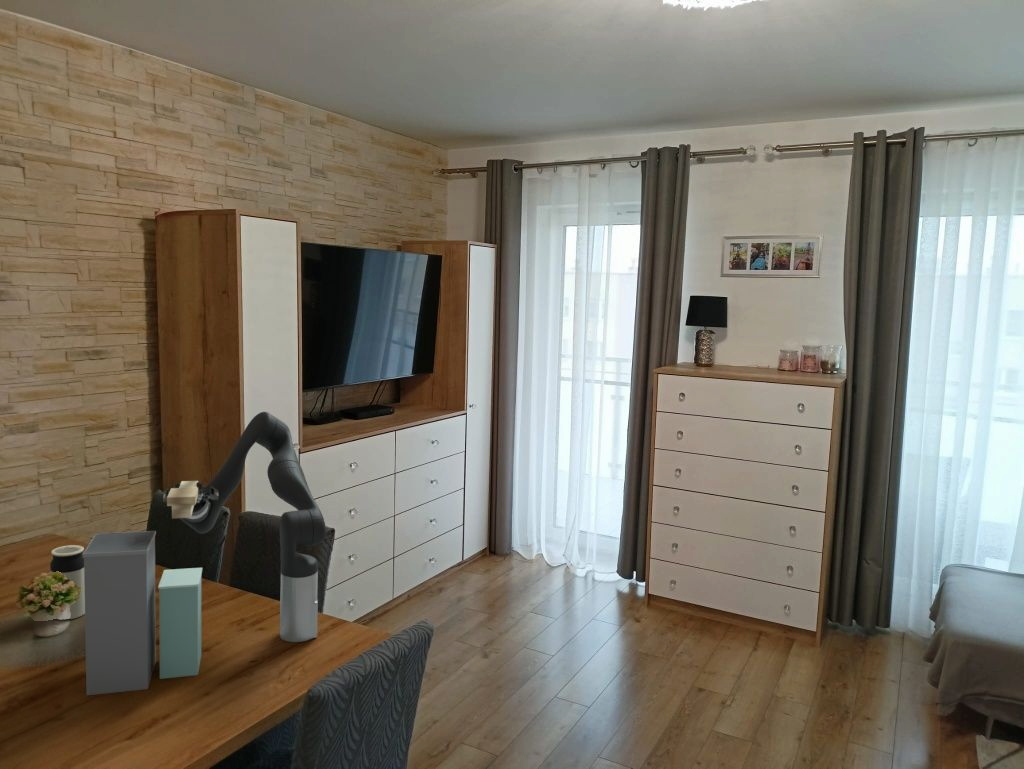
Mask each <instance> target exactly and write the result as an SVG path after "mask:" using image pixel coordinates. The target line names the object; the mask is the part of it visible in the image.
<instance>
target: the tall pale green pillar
mask: <svg viewBox="0 0 1024 769" xmlns="http://www.w3.org/2000/svg"><path fill="white" fill-rule="evenodd" d="M202 573H203V567H191V568H190V567H189V568H175V569H164V570H163V573H162V575H161V578H160V581H159V583H158V586H157V590H158V591H159V592H158V594H159V597H158V598H159V608H158V609H159V614H158V616H159V618H158V619H159V680H160V679H161V680H162V679H172V678H181V677H183V678H184V677H191V676H198V675H199V669H200V663H201V658H202Z"/></svg>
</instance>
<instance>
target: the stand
mask: <svg viewBox="0 0 1024 769" xmlns="http://www.w3.org/2000/svg"><path fill="white" fill-rule="evenodd" d="M156 535H157V531H156V530H145V531H144V530H143V531H123V532H122V531H121V532H103V533H100V532H99V533H96V534H95V535H94V536H93V538H92V539H91V541H90V542H89V543H88V545H87V547H86V548H85V549H84V550H83V553H82V555H83V558H84V585H85V614H84V624H85V626H84V627H85V628H84V629H85V630H84V631H85V632H84V633H85V681H86V683H85V684H86V685H85V686H86V696H94V695H104V694H113V693H123V692H132V691H141V690H143V691H144V690H148V688H149V686H150V682H151V678H152V675H153V671H154V667H155V664H156V661H157V660H156V659H157V658H156V655H157V652H156V650H157V649H156V647H157V646H156V642H157V641H156V640H157V639H156Z"/></svg>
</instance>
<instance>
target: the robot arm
mask: <svg viewBox="0 0 1024 769" xmlns="http://www.w3.org/2000/svg"><path fill="white" fill-rule="evenodd" d="M292 438H293V437H292V434H291V430H290V427H289V426H288V424H286V423H285V422H284V421H282V420H280V419H279V418H278V417H276V416H274V415H273V414H271V413H270V412H268V411H261V412H259V413H257V414H256V415H254V417H252V418H251V420H250V422H249V423H248V424H247V426H246V427H245V428H244V431H243V432H242V434H241V435H240V437H239V439H238V441H237V442H236V443H235V445H234V447H233V448H232V451H231V452H230V454H229V455H228V457H227V459H226V460H225V461H224V464H223V465H222V466H221V468H220V469H219V470H218V471H217V473H216V474H215V475H214V476H213V478H211V480H210V481H209V482H208V484H206V486H204V484H203V483H201V482H199V481H198V482H197V487H198V498H197V501H196V505H194V508H193V512H192V515H191V518H179V519H180V520H181V521H182V522H183V523H184V524H186V525H187V526H188V527H190V528H191V529H193V531H195V532H196V533H198V534H201V535H202V534H206V533H209V531H211V530H212V529H213V528H214V527H215V524H216V523H217V521H218V518H219V515H220V512H221V511H222V509H223V506H224V505H225V504H226V502H227V500H228V499H229V498H230V497H231V496H232V495H233V493H234V492H235V490H237V488H238V486H239V485H240V483H241V481H242V479H243V475H244V469H245V464H246V459H247V456H248V454H249V451H250V450H251V448H252V447H253V446H254V445H255V444H258V445H260V446H261V447H262V448H265V449H266V450H267V451H268V452H269V454H270V455H271V458H272V459H271V461H270V462H269V465H268V466H267V472H266V473H267V478H268V482H269V485H270V487H271V489H272V491H273V493H274V494H275V495H276V496H277V497H278V498H279V499H280V500H282V501H284V502H285V503H287V504H289V505H290V506H292V508H295V509H296V510H289V511H285V512H283V513H282V515H281V517H280V520H279V540H280V541H279V542H280V543H279V544H280V545H279V546H280V592H279V593H280V595H279V596H280V601H279V603H280V604H279V606H280V608H279V611H280V612H279V638H281V639H282V640H283V641H286V642H291V643H300V642H306V641H309V640H312V639H315V638H318V617H319V616H318V615H319V614H318V612H319V611H318V608H319V607H318V606H319V603H318V584H319V583H318V579H319V576H318V575H319V574H318V573H319V561H318V560H317V558H315V557H314V556H312V555H309V554H305V553H304V554H303V553H300V552H298V551H296V549H297V548H301V547H310V546H315V545H318V544H321V543H322V542H324V540H325V538H326V535H327V530H326V529H327V528H326V526H327V525H326V523H325V518H324V515H323V513H322V511H321V509H320V508H319V506H318V504H317V502H316V501H315V498H314V497H313V495H312V492H311V490H310V488H309V485H308V483H307V479H306V475H305V474H304V471H303V468H302V465H301V463H300V461H299V459H298V456H297V453H296V450H295V448H294V444H293V439H292ZM180 485H181V482H177V483H176V484H174V485H173V486H168V487H167V488H166V489H165V490H164V491H163V499H162V500H163V503H167V497H168V494H169V492H170V490H171V488H179V486H180ZM209 505H210V506H209Z"/></svg>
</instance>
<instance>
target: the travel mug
mask: <svg viewBox="0 0 1024 769" xmlns="http://www.w3.org/2000/svg"><path fill="white" fill-rule="evenodd" d="M84 551H85V547H84V546H82V545H78V544H77V545H76V544H69V545H63V546H58V547H56V548H54V549H52V550H51V551H50V554H51V555H52V560H51V561H50V565H49V566H50V571H49V572H50V575H51V573H53V572H56V571H59V572H61V573H62V574H64V575H65V577H66V578H67V579H69V580H71V581H74V582H75V584H76V585H77V587H81V592H80V594H79V598H78V600H77V601H76V602H75V603H74V604H72V605H71V607H70V612H71V620H74V619H77V618H81V617H82V616H84V615H85V585H84V558H83V553H84Z"/></svg>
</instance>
